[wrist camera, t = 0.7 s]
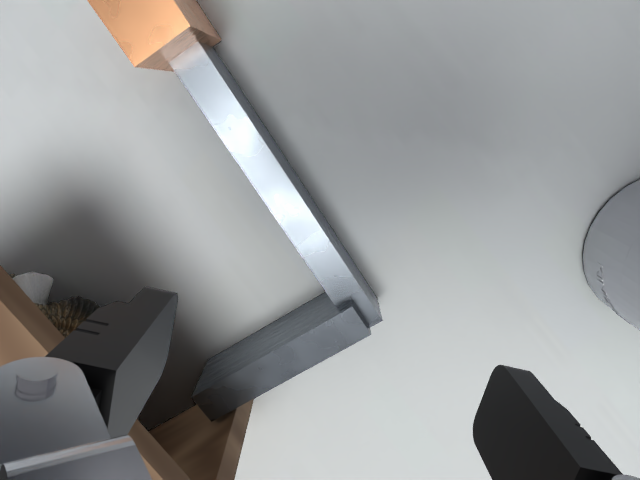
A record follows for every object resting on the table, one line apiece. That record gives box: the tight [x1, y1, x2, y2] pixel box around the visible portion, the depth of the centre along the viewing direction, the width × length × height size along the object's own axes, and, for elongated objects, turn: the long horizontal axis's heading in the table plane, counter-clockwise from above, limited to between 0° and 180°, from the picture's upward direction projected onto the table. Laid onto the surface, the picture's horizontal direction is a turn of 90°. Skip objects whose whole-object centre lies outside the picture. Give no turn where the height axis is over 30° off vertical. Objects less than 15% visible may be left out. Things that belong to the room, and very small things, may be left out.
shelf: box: [0, 265, 254, 480], centre depth 26 cm, size 15×17×11 cm
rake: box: [88, 0, 383, 422], centre depth 25 cm, size 12×22×6 cm, turn 33°
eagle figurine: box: [9, 272, 100, 338], centre depth 28 cm, size 8×7×9 cm
